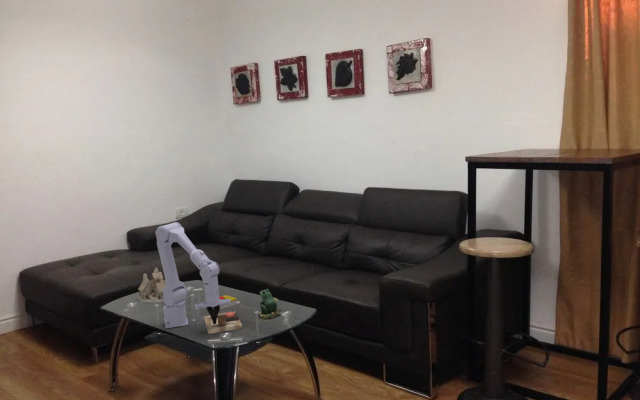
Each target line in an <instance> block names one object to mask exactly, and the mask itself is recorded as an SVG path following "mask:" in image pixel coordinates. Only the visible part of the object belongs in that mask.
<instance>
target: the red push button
mask: <svg viewBox="0 0 640 400" xmlns="http://www.w3.org/2000/svg"><path fill="white" fill-rule="evenodd" d="M224 313H225V317H226V318H230V317H235V311H226V312H224Z"/></svg>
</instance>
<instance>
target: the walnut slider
mask: <svg viewBox="0 0 640 400" xmlns="http://www.w3.org/2000/svg"><path fill="white" fill-rule="evenodd" d="M217 320H218V326H221V325H226V321H225V315H218V316H217Z"/></svg>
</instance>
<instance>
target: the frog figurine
mask: <svg viewBox="0 0 640 400" xmlns="http://www.w3.org/2000/svg"><path fill="white" fill-rule="evenodd" d="M259 295H260V297H261V299H262V300H261V301H260V303H259V306H260V311H259V312H258V317H259V318H260V319H262V320H259V319H254V318H253V317H252V318H251V319H252V320H253V321H255V322H261V323H263V322H266V323H268V322H270V321H271V320H274V321H273V322H275V320H276V319H275V318H278V317H280V316H281V313H280V309H278V302H279V299H278V298H276V297H273V295H272V293H271V292H270V289H268V288H266V289H264V290H261V291H260V292H259ZM279 315H280V316H279ZM277 316H278V317H277ZM274 317H275V318H274ZM270 323H271V322H270Z"/></svg>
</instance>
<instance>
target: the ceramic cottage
mask: <svg viewBox="0 0 640 400" xmlns="http://www.w3.org/2000/svg"><path fill="white" fill-rule="evenodd" d="M165 285H166V280H165V279H164V274H163V273H162V271H159V269H158V267H155V268H154V270H153V272H152V273H151V279H150V280H149V278H148V275H147V273H144V274H142V282H141V284H140V285H139V286H138V288H137V290H138V296H137V301H138V300H139V301H138V302H140V301H142V302H141V303H164V300H163V289H164V287H165Z"/></svg>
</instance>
